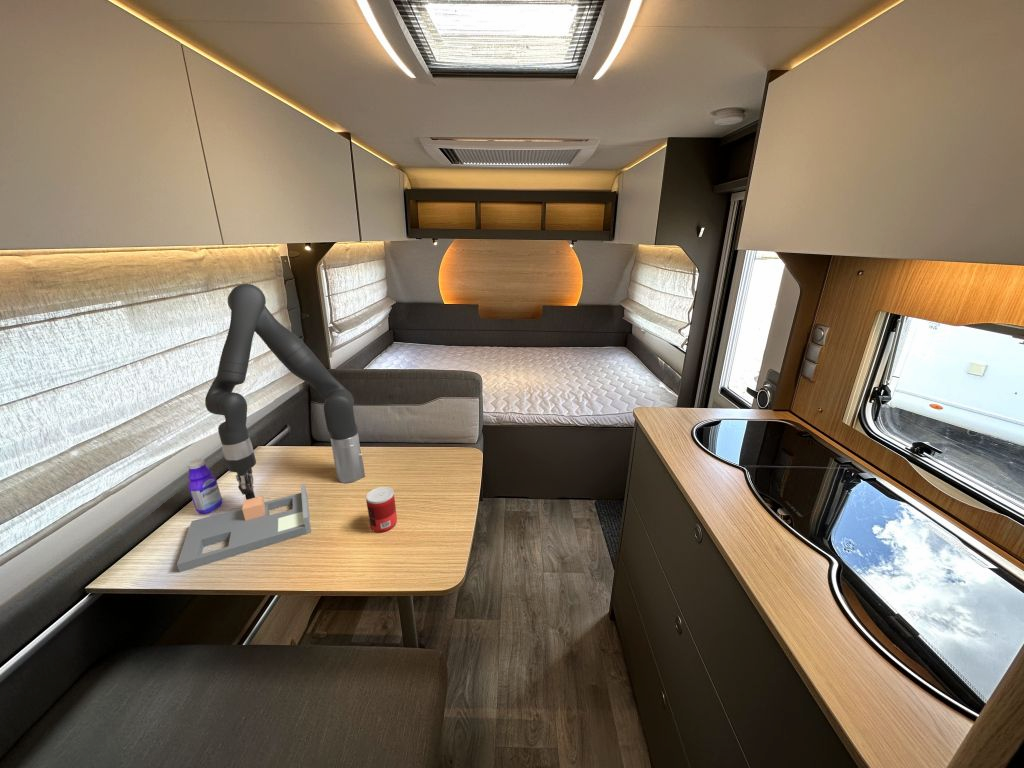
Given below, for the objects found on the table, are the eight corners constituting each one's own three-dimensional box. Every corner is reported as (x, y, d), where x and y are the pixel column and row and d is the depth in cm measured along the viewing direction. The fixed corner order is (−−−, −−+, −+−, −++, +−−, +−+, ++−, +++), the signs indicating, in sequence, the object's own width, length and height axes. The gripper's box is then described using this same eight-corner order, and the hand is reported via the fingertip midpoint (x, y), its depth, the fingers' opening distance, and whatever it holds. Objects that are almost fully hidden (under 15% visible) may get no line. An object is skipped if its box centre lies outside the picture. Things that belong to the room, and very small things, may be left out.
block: (265, 506, 126) (262, 495, 125) (264, 515, 122) (261, 504, 121) (246, 511, 124) (243, 500, 123) (245, 520, 120) (242, 509, 118)
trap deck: (307, 497, 135) (304, 483, 133) (311, 532, 118) (307, 517, 116) (193, 527, 121) (188, 512, 119) (179, 572, 104) (173, 555, 102)
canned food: (402, 519, 124) (398, 488, 120) (386, 535, 116) (382, 504, 113) (381, 514, 126) (377, 484, 122) (365, 530, 119) (360, 499, 115)
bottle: (207, 517, 125) (192, 468, 120) (192, 514, 127) (177, 467, 121) (227, 503, 132) (214, 457, 127) (213, 501, 133) (199, 455, 128)
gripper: (227, 447, 126) (239, 493, 132) (221, 465, 115) (235, 516, 121) (254, 441, 129) (265, 487, 135) (251, 459, 118) (263, 508, 124)
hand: (251, 500), depth 128 cm, fingers closed
